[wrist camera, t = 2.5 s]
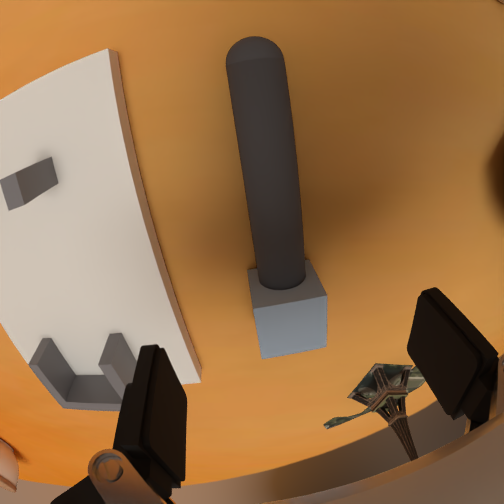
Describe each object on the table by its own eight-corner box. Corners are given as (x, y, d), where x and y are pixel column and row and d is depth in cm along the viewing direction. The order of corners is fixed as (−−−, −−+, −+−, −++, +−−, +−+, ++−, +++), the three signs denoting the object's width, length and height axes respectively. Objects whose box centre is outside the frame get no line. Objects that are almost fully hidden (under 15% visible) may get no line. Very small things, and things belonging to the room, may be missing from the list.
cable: (210, 47, 13) (206, 30, 10) (286, 39, 13) (304, 21, 10) (255, 317, 21) (261, 359, 18) (311, 307, 21) (326, 346, 18)
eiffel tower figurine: (323, 426, 31) (349, 524, 19) (296, 386, 26) (326, 517, 15) (437, 373, 29) (485, 459, 17) (438, 319, 24) (511, 424, 13)
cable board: (-54, 144, 12) (-98, 162, 8) (117, 52, 12) (77, 36, 8) (49, 374, 23) (32, 413, 18) (201, 368, 23) (199, 420, 19)
